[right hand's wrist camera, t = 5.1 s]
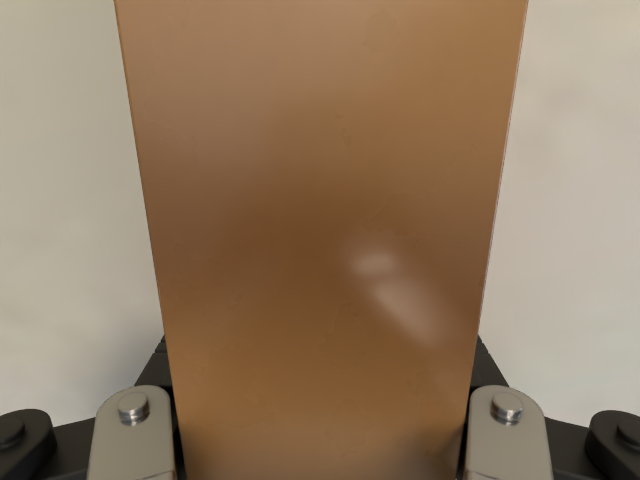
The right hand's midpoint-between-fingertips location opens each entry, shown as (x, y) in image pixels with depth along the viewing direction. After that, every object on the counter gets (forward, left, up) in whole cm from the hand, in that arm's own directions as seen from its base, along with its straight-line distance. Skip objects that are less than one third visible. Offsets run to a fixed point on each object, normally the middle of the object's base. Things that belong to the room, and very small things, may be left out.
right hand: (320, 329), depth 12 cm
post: (-28, -6, -3) cm, 28 cm away
